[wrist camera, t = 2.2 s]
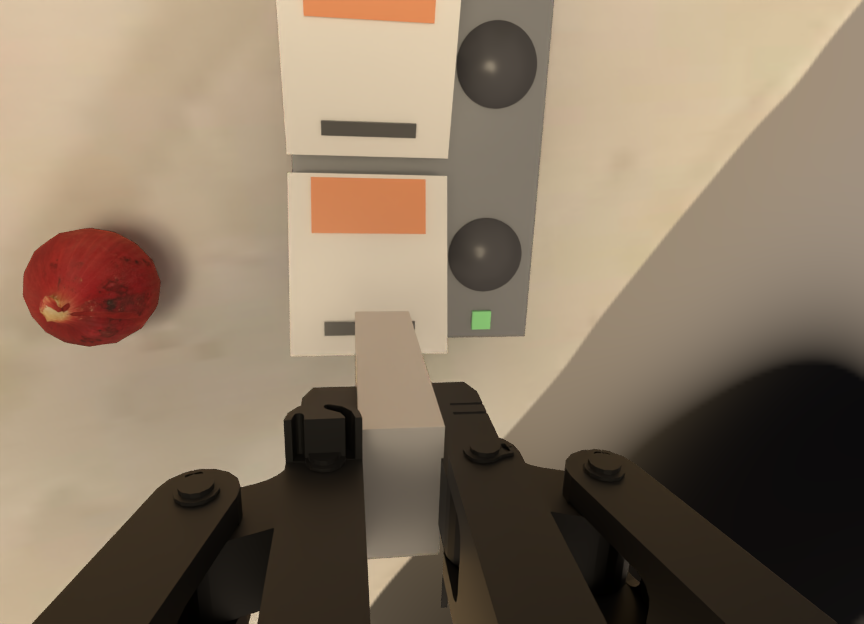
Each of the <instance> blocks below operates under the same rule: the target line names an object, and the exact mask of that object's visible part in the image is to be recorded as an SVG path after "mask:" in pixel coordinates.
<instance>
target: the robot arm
mask: <svg viewBox="0 0 864 624" xmlns="http://www.w3.org/2000/svg"><path fill="white" fill-rule="evenodd" d="M355 385H356V387H323V388H313V389H311V390H310V391H309V392H308V393H307V394H306V395H305V396H304V397H303V398H302V404H301V406H299V407H297V408H295V409H294V410H292V411H291V412H289V413H288V414H287V416H286V417H285V419H284V436H285V456H286V465H285V470H284V471H283V472H281V473H280V474H278V475H277V476H275V477H273V478H271V479H269V480H266V481H263V482H260V483H257V484H253V485H249V486H245V487H240V484H239V481H238V478H237V477H235V476H234V475H232V474H231V473H229V472H226V471H222V470H217V469H199V470H194V471H189V472H186V473H183V474H181V475H178V476H176V477H174V478H171V479H169V480H168V481H166V482H165V483H164V484H162V485H161V486H160V487H159V488H157V489H156V490H155V492H154V493H153V494H152V495H151V496H150V497H149V498H148V499H147V500H146V501H145V502H144V503H143V504H142V506H141V507H140V508H139V509H138V510H137V511H136V512H135V513H134V514H133V515H132V516H131V517H130V518H129V520H128V521H127V522H126V523H125V524H124V525H123V526H122V527H121V528H120V529H119V530H118V531H117V533H116V534H115V535H114V536H113V537H112V538H111V539H110V540H109V541H108V542H107V543H106V544H105V545H104V547H103V548H102V549H101V550H100V551H99V552H98V553H97V554H96V555H95V556H94V557H93V558H92V560H91V561H90V562H89V563H88V564H87V565H86V566H85V567H84V568H83V569H82V570H81V571H80V572H79V574H78V575H77V576H76V577H75V578H74V579H73V580H72V581H71V582H70V583H69V584H68V585H67V586H66V588H65V589H64V590H63V591H62V592H61V593H60V594H59V595H58V596H57V597H56V598H55V599H54V601H53V602H52V603H51V604H50V605H49V606H48V607H47V608H46V609H45V610H44V611H43V612H42V613H41V615H40V616H39V617H38V618H37V619H36V620H35V621H34V622H33V623H32V624H249V620H250V616H251V614H252V613H255V612H258V611H260V612H259V618H258V623H257V624H370V607H369V585H368V564H367V559H377V558H392V557H406V556H419V555H434V554H435V555H436V554H439V546H440V535H441V539H442V543H443V548H444V557H443V578H442V598H441V607H442V608H443V607H447V603H448V602H449V607H450V612H451V617H452V621H453V624H838V623H836V622H835V621H834V620H833V619H831V618H830V617H829V616H828V615H826V614H825V613H824V612H822V611H821V610H820V609H819V608H817V607H816V606H815V605H814V604H812V603H811V602H810V601H809V600H807V599H806V598H805V597H804V596H802V595H801V594H800V593H798V592H797V591H796V590H795V589H793V588H792V587H791V586H790V585H788V584H787V583H786V582H784V581H783V580H782V579H781V578H779V577H778V576H777V575H776V574H774V573H773V572H772V571H771V570H769V569H768V568H767V567H765V566H764V565H763V564H762V563H760V562H759V561H758V560H756V559H755V558H754V557H753V556H751V555H750V554H749V553H748V552H746V551H745V550H744V549H743V548H741V547H740V546H739V545H738V544H736V543H735V542H734V541H732V540H731V539H730V538H729V537H727V536H726V535H725V534H723V533H722V532H721V531H720V530H718V529H717V528H716V527H715V526H713V525H712V524H711V523H710V522H708V521H707V520H706V519H705V518H703V517H702V516H700V515H699V514H698V513H697V512H696V511H694V510H693V509H692V508H690V507H689V506H688V505H687V504H685V503H684V502H683V501H682V500H680V499H679V498H678V497H677V496H675V495H674V494H673V493H671V492H670V491H669V490H668V489H667V488H665V487H664V486H663V485H661V484H660V483H659V482H658V481H656V480H655V479H654V478H653V477H651V476H650V475H649V474H647V473H646V472H645V471H644V470H642V469H641V468H640V467H639V466H637V465H636V464H635V463H633V462H632V461H630V460H628V459H627V458H625V457H623V456H621V455H618V454H615V453H612V452H610V451H606V450H602V451H601V450H597V449H593V450H581V451H578V452H576V453H573V454H571V455H570V456H569V457H568V458H567V460H566V464H565V471H561V470H555V469H547V468H541V467H537V466H532V465H529V464H526V463H525V462H524V459H523V457H522V456H521V454H520V452H519V451H518V450H517V448H516V447H515V446H514V445H513V444H511V443H509V442H508V441H506V440H504V439H501V438H499V437H498V435H497V433H496V431H495V429H494V427H493V424H492V422H491V420H490V418H489V416H488V414H487V413H486V410H485V408H484V405H483V404H482V401H481V399H480V397H479V395H478V393H477V391H476V390H474V389H473V388H471V387H470V386H469V385H467V384H466V383H464V382H446V383H431V381H430V377H429V374H428V371H427V368H426V365H425V361H424V358H423V355H422V352H421V349H420V346H419V342H418V339H417V336H416V333H415V330H414V327H413V323H412V320H411V317H410V314H409V311H360V312H355ZM629 564H630V565H631V566H632V567H633V568H634V569H635V570H636V571H637V572H638V574H639V575H640V576H641V581H640V582H638V581H637V580H636V579H635V578H634V577H633V576H632V575H631V574H630V573H629V572H628V567H629Z"/></svg>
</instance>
